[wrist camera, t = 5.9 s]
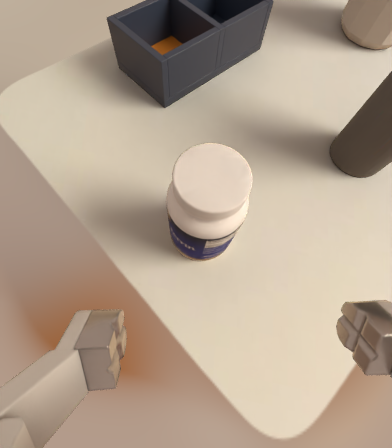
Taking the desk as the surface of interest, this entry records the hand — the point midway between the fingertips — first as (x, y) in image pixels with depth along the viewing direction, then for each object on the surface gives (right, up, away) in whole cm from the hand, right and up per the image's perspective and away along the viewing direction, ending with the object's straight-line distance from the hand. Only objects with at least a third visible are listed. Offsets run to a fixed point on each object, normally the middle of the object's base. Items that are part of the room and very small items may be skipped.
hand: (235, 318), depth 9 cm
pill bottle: (-1, +3, +14) cm, 15 cm away
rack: (-2, +26, +23) cm, 35 cm away
